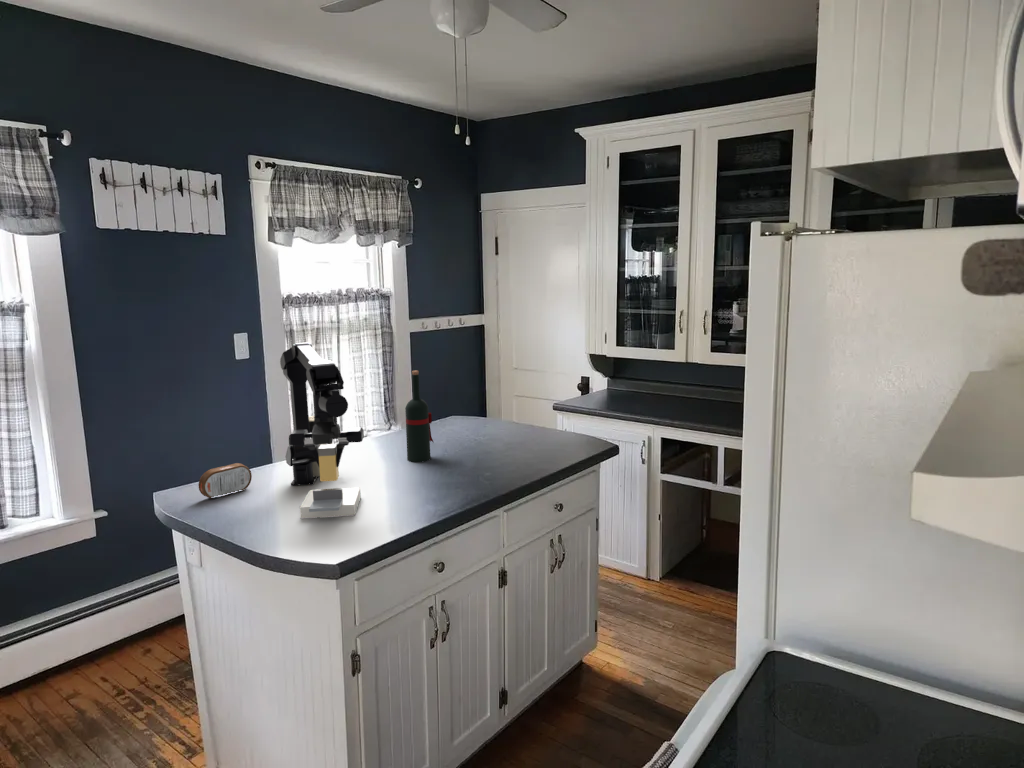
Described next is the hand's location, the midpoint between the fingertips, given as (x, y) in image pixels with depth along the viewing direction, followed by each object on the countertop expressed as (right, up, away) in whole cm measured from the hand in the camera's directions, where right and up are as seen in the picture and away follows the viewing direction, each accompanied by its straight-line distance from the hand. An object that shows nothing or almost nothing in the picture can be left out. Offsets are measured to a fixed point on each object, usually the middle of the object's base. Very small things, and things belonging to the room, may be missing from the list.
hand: (329, 467), depth 181 cm
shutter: (+1, -9, -6) cm, 11 cm away
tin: (-33, -10, +14) cm, 38 cm away
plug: (0, -3, +1) cm, 3 cm away
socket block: (0, -11, +2) cm, 11 cm away
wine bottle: (+18, -3, +47) cm, 51 cm away
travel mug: (-11, -6, +33) cm, 35 cm away
